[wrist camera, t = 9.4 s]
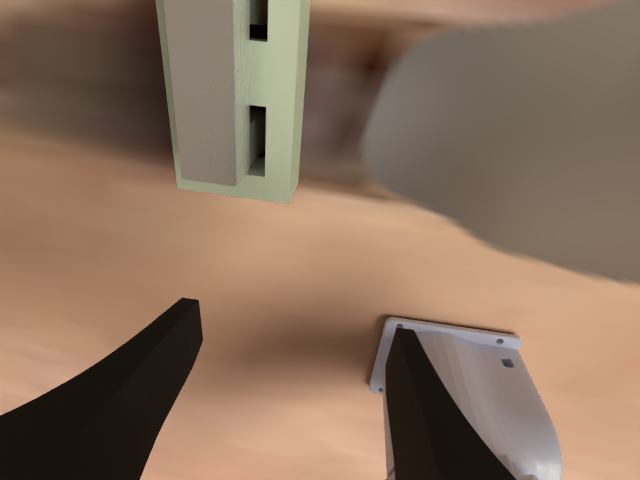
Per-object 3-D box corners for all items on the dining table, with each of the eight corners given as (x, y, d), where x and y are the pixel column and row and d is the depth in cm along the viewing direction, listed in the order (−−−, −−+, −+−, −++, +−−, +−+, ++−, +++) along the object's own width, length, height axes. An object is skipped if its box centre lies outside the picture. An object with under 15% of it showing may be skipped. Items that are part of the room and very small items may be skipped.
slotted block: (316, -83, 15) (306, -106, 13) (298, 183, 21) (289, 203, 19) (178, -96, 15) (141, -122, 13) (199, 170, 21) (177, 188, 19)
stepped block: (274, -25, 16) (232, -52, 11) (268, 147, 20) (236, 186, 15) (222, -31, 16) (157, -61, 11) (227, 142, 20) (181, 179, 15)
